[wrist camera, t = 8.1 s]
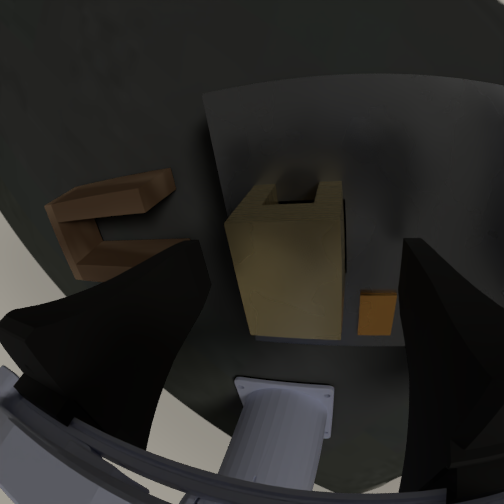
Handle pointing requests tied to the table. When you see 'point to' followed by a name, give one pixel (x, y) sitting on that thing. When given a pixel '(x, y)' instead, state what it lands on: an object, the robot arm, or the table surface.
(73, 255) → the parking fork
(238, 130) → the dark grey l-shaped block
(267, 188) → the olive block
